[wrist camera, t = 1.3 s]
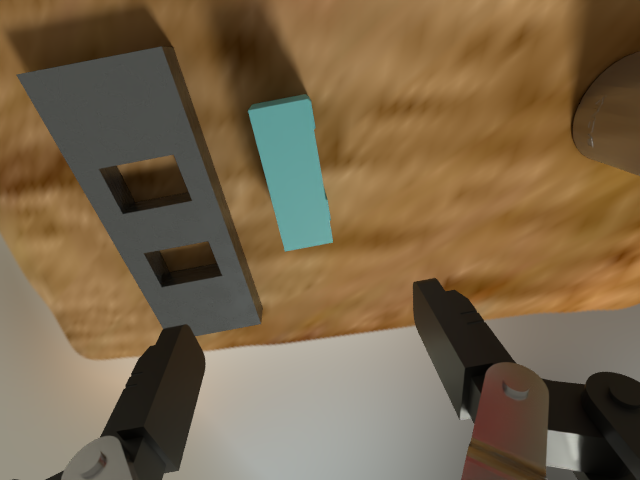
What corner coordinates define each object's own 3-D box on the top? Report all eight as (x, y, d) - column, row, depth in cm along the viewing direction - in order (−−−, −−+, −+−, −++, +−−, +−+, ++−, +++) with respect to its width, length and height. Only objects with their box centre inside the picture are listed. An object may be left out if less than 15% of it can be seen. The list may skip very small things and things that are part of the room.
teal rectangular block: (307, 89, 26) (312, 97, 21) (328, 211, 32) (335, 241, 26) (252, 99, 26) (244, 111, 21) (283, 219, 32) (282, 252, 26)
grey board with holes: (173, 47, 24) (161, 46, 22) (262, 308, 37) (261, 323, 35) (40, 72, 24) (16, 74, 22) (177, 324, 37) (170, 340, 35)
